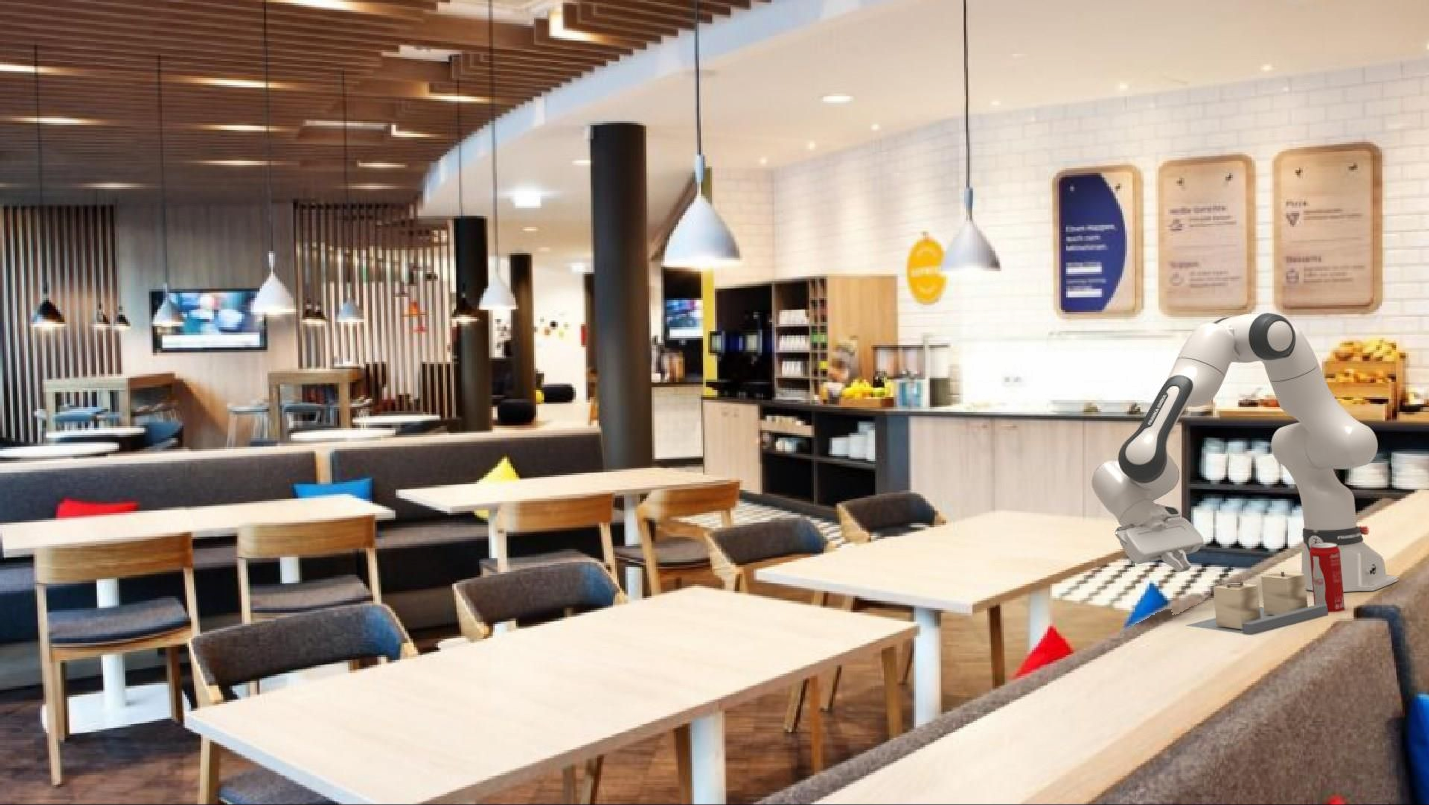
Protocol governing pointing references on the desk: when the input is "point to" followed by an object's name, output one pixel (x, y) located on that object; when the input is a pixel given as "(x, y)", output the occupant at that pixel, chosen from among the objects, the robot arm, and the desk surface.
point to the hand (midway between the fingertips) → (1185, 569)
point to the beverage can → (1327, 576)
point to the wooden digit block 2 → (1236, 604)
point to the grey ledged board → (1269, 620)
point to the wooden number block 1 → (1283, 592)
